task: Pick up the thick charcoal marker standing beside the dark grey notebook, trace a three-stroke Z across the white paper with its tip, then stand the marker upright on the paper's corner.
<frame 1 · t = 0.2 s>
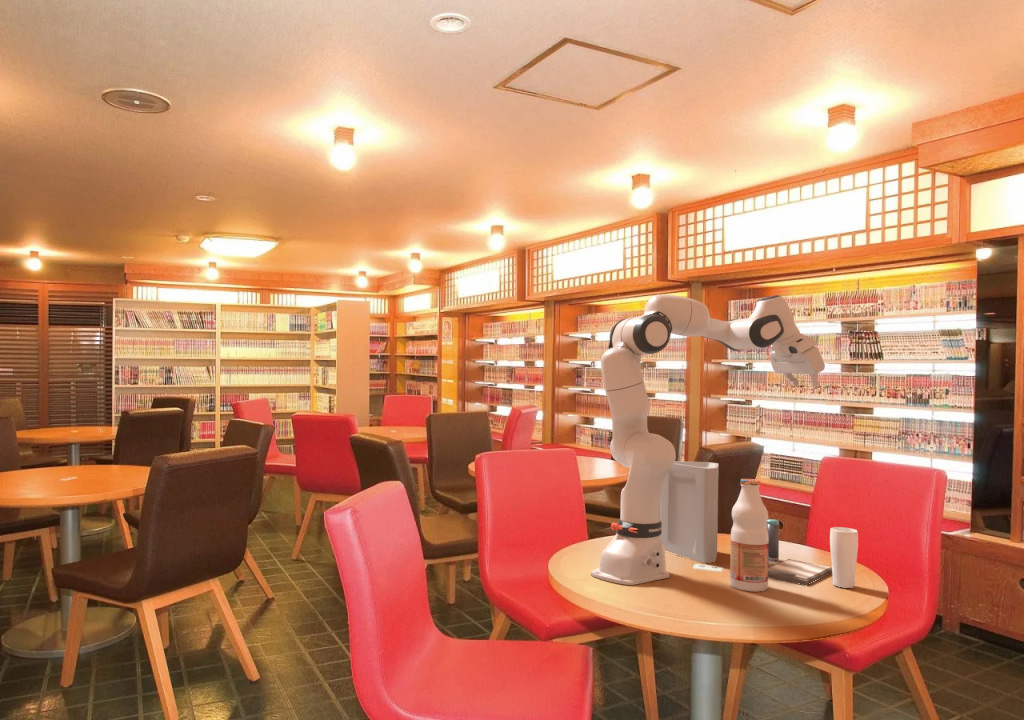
hand: (805, 385, 214), 53 cm above the table, tool tilted 30°, fingers open, 8 cm apart
dark grey notebook: (797, 573, 197), on the table
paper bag: (697, 554, 217), on the table
marker: (772, 559, 212), on the table
drinking glass: (843, 587, 185), on the table
fruit juice: (748, 587, 182), on the table
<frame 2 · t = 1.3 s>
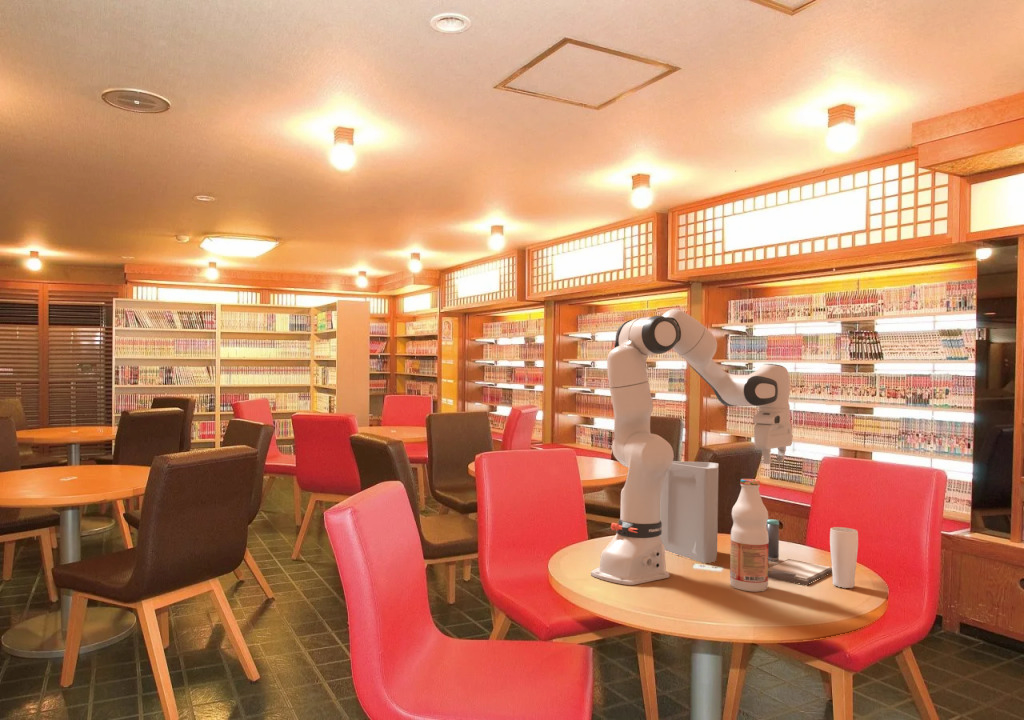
hand: (774, 462, 213), 30 cm above the table, tool pointing down, fingers open, 8 cm apart
nothing on the table moved.
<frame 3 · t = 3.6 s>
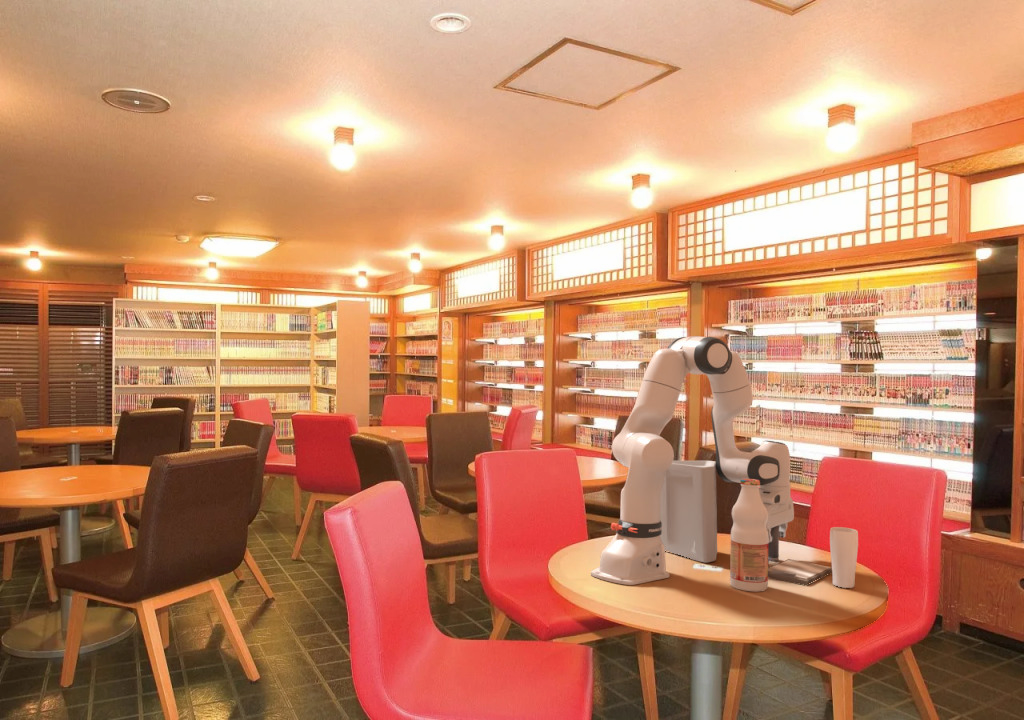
hand: (775, 539, 212), 6 cm above the table, tool pointing down, fingers open, 8 cm apart
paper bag: (697, 553, 217), on the table, touching arm
everything else where it was.
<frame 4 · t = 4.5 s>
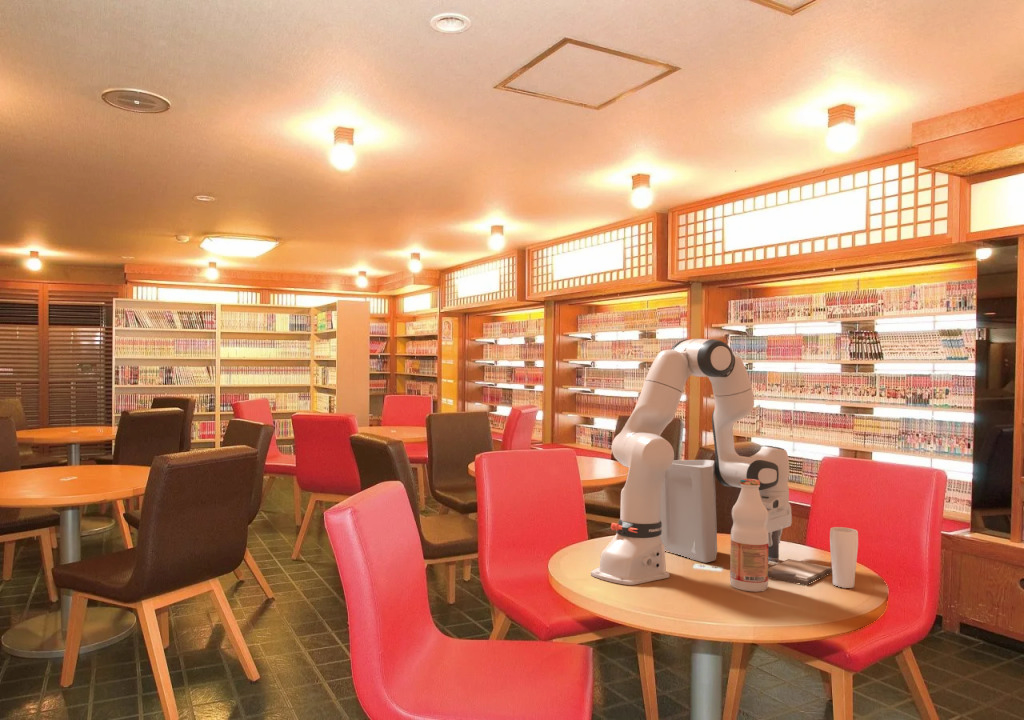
hand: (772, 544, 212), 5 cm above the table, tool pointing down, fingers closed on marker, 4 cm apart
marker: (772, 559, 212), on the table, touching gripper
everything else where it was.
when the fingers open (7 cm above the table, at t = 16.7 s): marker moves 1 cm, resting on dark grey notebook.
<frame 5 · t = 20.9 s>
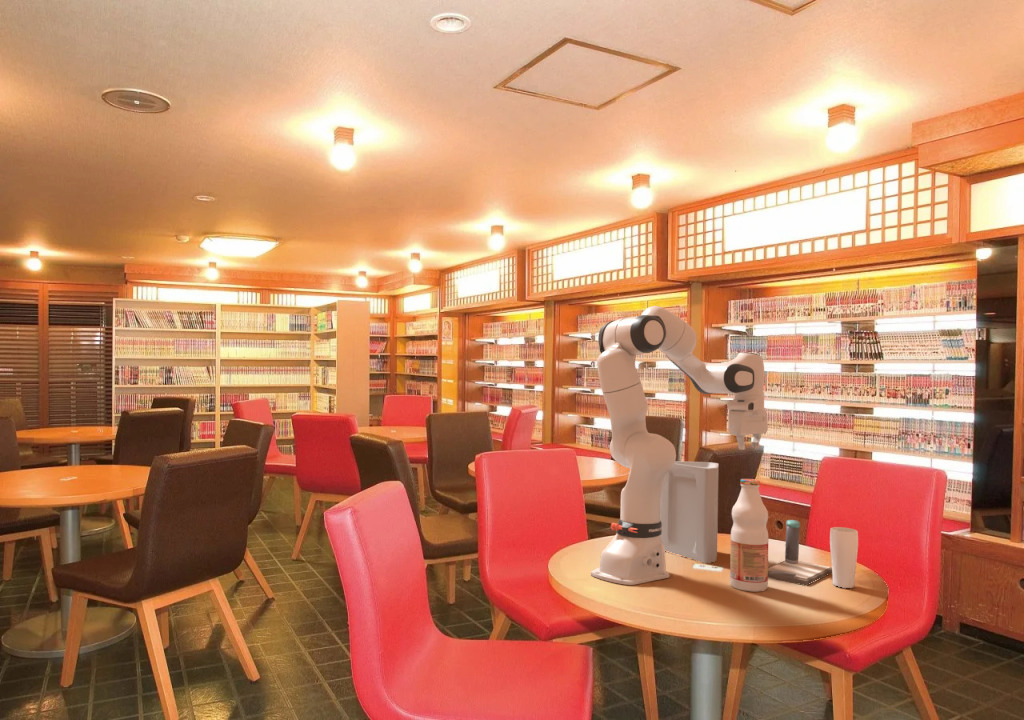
hand: (748, 448, 218), 33 cm above the table, tool pointing down, fingers open, 8 cm apart
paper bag: (697, 554, 217), on the table
marker: (791, 561, 204), point 2 cm above the table, tilted 10°, touching dark grey notebook
everything else where it was.
at the end: marker inside the target area (1.5 cm from its centre), point 1.7 cm above the table; marker tilted 10°; the gripper is holding nothing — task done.
